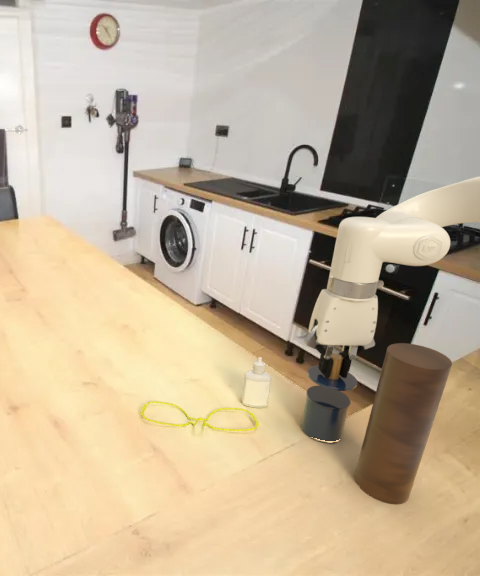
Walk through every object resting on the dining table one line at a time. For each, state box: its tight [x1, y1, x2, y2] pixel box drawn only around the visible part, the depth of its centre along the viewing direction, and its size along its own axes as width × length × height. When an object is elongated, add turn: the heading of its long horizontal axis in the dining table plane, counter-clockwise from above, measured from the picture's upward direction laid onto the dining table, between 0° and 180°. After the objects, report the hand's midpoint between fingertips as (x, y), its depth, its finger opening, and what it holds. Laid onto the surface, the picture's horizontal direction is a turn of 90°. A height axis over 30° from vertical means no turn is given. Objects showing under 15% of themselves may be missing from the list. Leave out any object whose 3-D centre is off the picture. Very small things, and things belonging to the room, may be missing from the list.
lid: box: [307, 352, 358, 392], centre depth 80 cm, size 9×9×5 cm
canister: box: [300, 385, 351, 441], centre depth 84 cm, size 8×8×8 cm
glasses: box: [139, 400, 260, 432], centre depth 88 cm, size 25×10×5 cm, turn 80°
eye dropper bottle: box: [240, 356, 272, 409], centre depth 92 cm, size 4×6×12 cm
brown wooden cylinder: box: [354, 342, 453, 505], centre depth 67 cm, size 8×8×26 cm
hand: (332, 373), depth 80 cm, fingers closed on lid, 2 cm apart
